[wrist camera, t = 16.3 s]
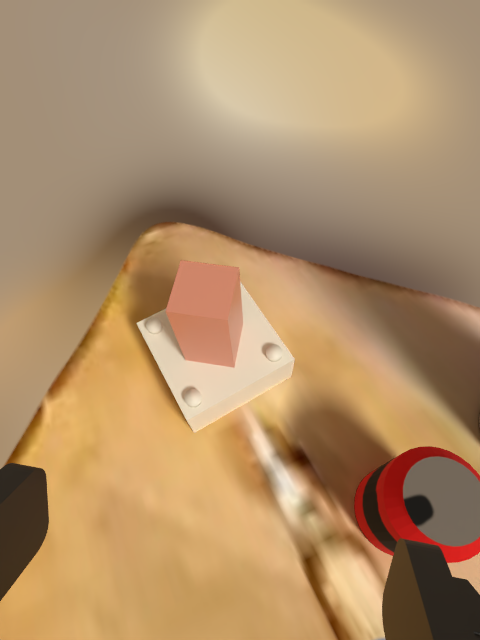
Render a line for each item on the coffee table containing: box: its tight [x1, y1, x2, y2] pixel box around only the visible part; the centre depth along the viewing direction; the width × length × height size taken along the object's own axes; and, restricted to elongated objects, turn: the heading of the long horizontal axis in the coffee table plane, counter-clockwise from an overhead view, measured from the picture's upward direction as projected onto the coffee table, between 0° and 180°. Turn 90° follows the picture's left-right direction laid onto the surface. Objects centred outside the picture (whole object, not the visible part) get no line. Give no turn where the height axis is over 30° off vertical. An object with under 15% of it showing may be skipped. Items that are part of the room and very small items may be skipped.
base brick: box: [136, 282, 295, 433], centre depth 44 cm, size 12×12×6 cm
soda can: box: [354, 447, 480, 563], centre depth 33 cm, size 8×8×12 cm
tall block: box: [165, 260, 243, 368], centre depth 38 cm, size 5×5×10 cm
